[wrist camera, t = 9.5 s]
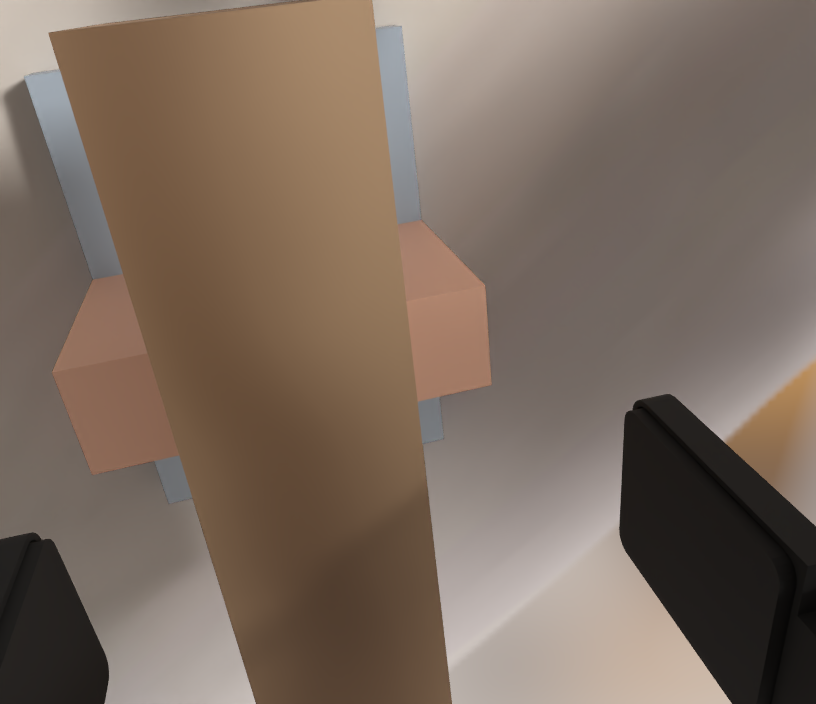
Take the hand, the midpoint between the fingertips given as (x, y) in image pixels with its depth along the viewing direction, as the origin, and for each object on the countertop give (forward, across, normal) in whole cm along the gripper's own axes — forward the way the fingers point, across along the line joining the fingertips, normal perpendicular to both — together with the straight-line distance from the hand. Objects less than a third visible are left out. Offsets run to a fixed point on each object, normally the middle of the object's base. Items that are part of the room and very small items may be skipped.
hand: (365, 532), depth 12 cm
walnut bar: (+6, +1, 0) cm, 6 cm away
